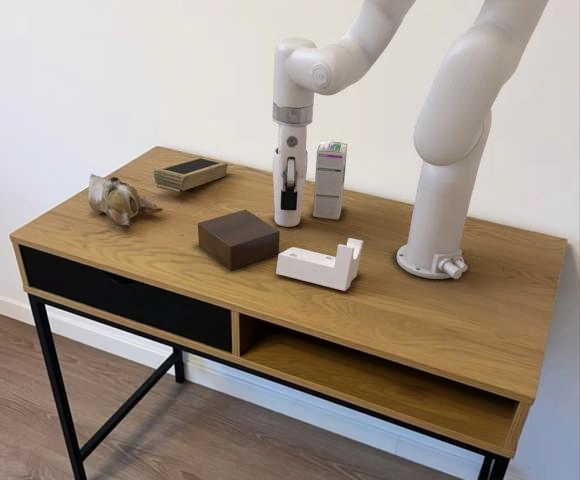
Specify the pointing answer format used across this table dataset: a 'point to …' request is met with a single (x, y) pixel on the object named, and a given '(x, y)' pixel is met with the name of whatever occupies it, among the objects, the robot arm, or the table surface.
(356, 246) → the bracket
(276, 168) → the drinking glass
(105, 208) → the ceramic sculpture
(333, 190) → the syrup box
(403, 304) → the table surface
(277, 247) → the walnut block
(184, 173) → the box
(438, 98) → the robot arm
